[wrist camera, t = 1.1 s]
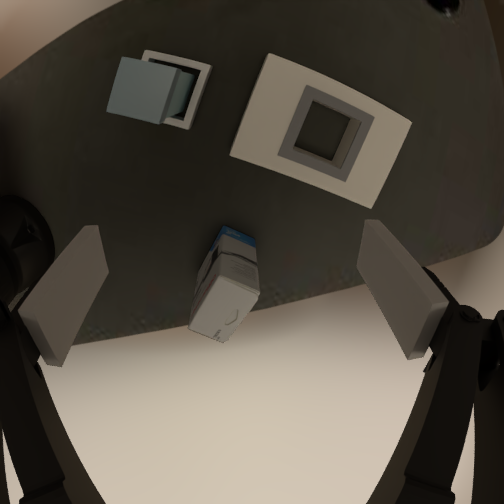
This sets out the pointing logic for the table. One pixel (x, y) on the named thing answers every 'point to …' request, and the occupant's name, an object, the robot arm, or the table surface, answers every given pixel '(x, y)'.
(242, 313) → the ink box
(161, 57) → the grey square frame
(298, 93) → the port
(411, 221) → the table surface
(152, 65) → the plug
